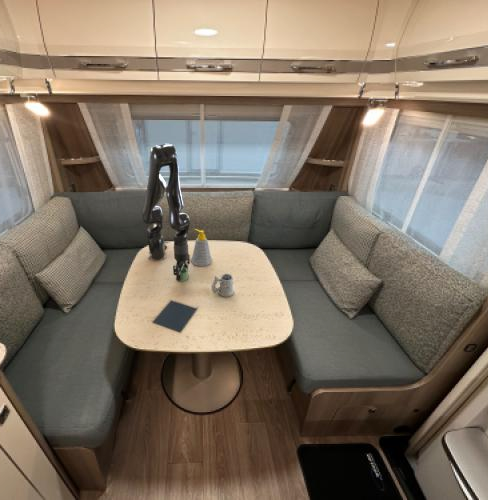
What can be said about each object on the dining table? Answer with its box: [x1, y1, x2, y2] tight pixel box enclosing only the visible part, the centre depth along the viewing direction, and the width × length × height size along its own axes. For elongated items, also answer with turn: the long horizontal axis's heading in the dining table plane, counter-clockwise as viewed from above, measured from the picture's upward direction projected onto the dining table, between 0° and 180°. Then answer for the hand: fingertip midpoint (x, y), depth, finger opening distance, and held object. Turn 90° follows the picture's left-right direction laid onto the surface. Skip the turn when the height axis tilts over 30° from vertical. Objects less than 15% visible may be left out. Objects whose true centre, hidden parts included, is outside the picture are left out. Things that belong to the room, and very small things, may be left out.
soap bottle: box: [191, 228, 212, 267], centre depth 160 cm, size 12×12×20 cm
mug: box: [211, 273, 234, 298], centre depth 135 cm, size 8×12×12 cm, turn 110°
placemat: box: [152, 300, 197, 333], centre depth 124 cm, size 16×14×1 cm
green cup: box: [178, 267, 189, 282], centre depth 147 cm, size 6×6×6 cm
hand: (182, 275), depth 148 cm, fingers open, 8 cm apart
